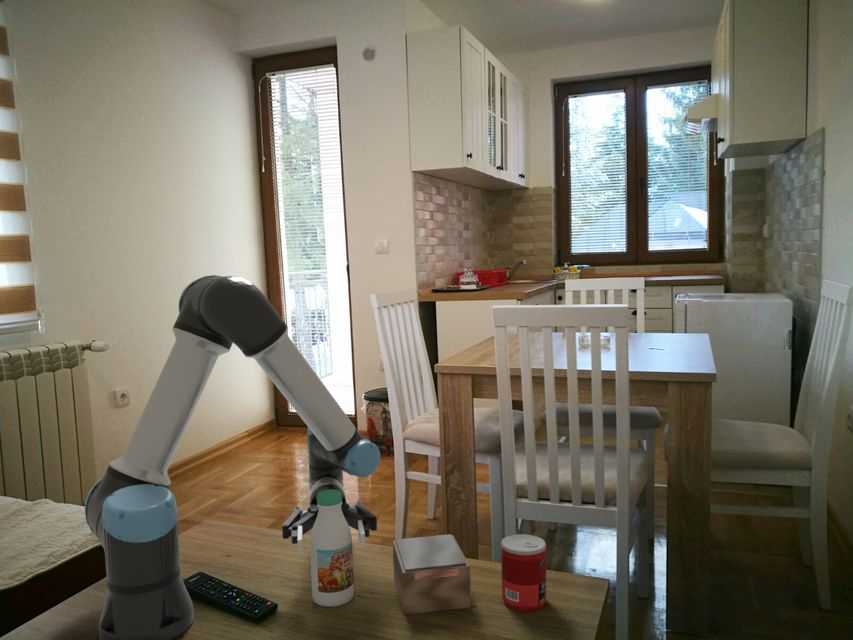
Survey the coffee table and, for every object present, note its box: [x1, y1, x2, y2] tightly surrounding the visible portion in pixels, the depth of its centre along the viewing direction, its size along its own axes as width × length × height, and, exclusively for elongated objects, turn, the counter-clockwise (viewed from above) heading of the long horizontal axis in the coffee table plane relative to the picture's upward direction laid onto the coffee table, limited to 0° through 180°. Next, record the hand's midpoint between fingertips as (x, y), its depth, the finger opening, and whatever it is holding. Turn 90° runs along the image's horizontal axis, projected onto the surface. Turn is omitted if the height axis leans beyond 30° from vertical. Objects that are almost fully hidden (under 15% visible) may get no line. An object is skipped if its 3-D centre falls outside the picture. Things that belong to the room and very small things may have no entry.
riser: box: [392, 533, 472, 616], centre depth 125 cm, size 12×14×8 cm
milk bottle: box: [309, 489, 355, 608], centre depth 124 cm, size 8×8×20 cm
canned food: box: [500, 533, 547, 612], centre depth 121 cm, size 8×8×11 cm
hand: (331, 544), depth 119 cm, fingers open, 10 cm apart
